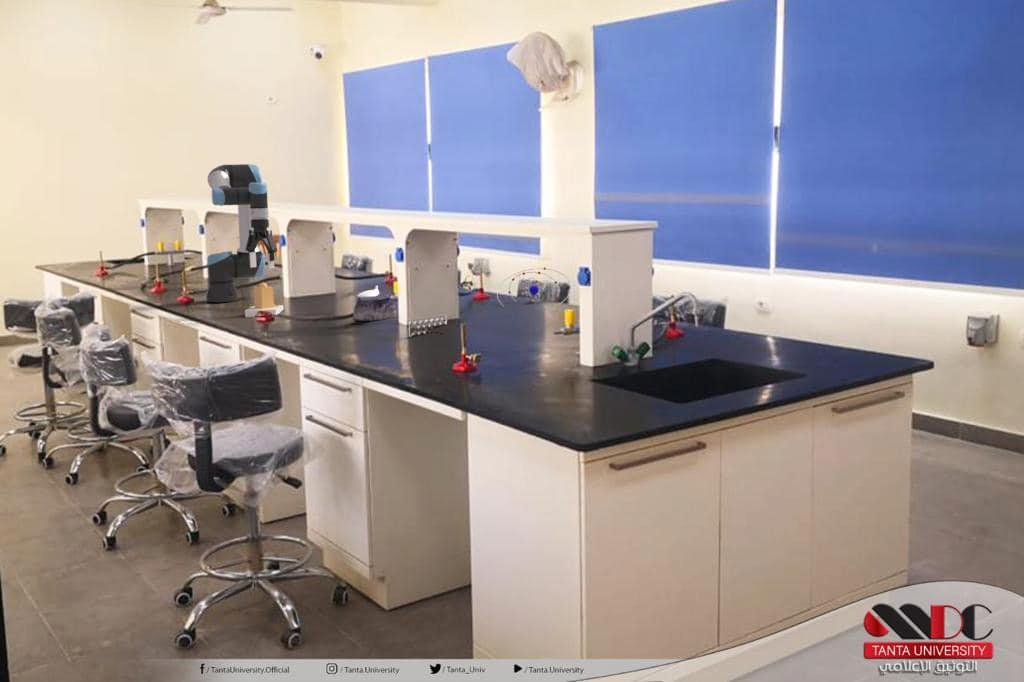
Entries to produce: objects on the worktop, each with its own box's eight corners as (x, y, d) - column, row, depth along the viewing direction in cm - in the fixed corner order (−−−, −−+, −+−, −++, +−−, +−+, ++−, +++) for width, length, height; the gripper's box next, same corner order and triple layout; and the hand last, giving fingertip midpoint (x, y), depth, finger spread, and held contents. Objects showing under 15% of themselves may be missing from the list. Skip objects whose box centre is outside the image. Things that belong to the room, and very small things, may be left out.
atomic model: (527, 340, 440) (584, 303, 436) (514, 330, 420) (573, 291, 416) (497, 289, 449) (553, 252, 445) (482, 276, 430) (540, 238, 425)
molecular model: (423, 340, 365) (422, 322, 364) (404, 338, 370) (403, 321, 369) (463, 332, 386) (462, 316, 385) (444, 331, 390) (444, 315, 389)
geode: (367, 324, 396) (366, 299, 395) (346, 322, 403) (345, 297, 402) (402, 318, 412) (401, 294, 411) (382, 317, 419) (381, 293, 418)
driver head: (386, 283, 481) (368, 277, 471) (386, 304, 478) (368, 299, 469) (370, 288, 487) (352, 282, 477) (370, 309, 484) (352, 303, 474)
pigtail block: (254, 312, 444) (253, 296, 443) (283, 311, 444) (282, 296, 443) (245, 317, 426) (244, 301, 425) (276, 316, 427) (275, 300, 426)
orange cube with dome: (254, 307, 435) (253, 282, 433) (266, 306, 439) (264, 281, 437) (262, 308, 431) (261, 283, 429) (274, 307, 435) (272, 282, 433)
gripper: (235, 218, 435) (238, 267, 438) (268, 219, 418) (271, 269, 421) (250, 218, 440) (253, 266, 443) (283, 218, 424) (286, 268, 427)
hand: (262, 268), depth 432 cm, fingers open, 13 cm apart
